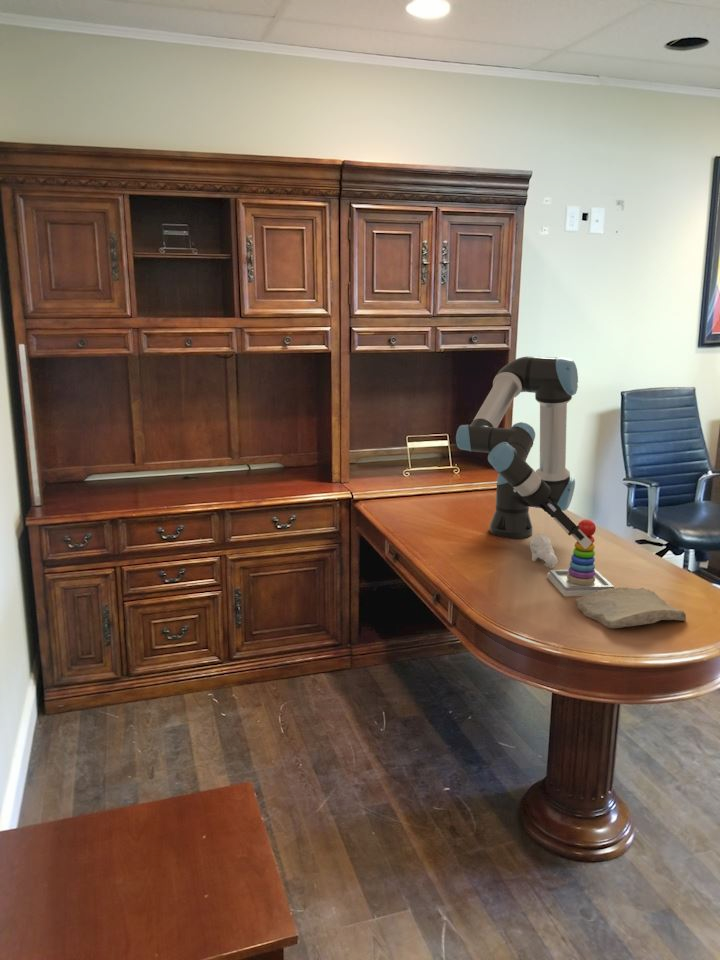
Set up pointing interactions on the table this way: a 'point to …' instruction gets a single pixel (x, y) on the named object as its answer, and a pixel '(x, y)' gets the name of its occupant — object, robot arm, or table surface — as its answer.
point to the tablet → (627, 607)
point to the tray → (574, 589)
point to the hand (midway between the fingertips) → (579, 538)
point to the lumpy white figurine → (543, 550)
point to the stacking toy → (583, 558)
